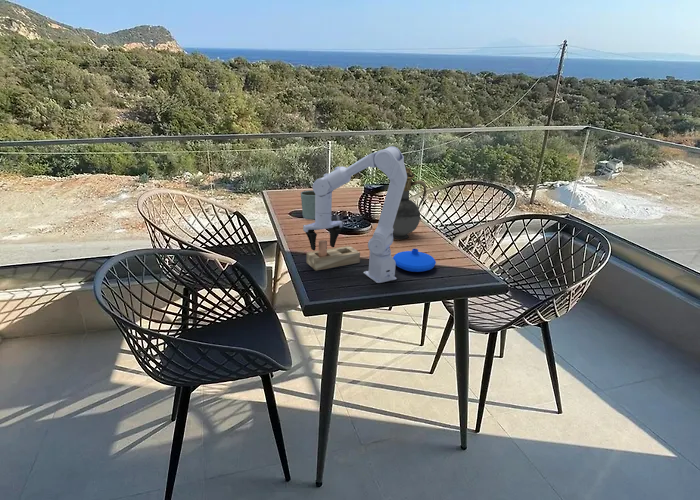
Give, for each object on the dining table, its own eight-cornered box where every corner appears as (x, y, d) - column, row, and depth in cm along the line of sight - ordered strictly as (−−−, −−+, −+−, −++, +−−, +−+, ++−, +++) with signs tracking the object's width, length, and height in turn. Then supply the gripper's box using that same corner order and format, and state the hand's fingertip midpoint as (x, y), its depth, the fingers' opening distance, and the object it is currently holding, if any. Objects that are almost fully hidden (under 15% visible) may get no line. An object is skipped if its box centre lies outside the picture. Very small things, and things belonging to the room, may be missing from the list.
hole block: (359, 262, 168) (360, 252, 166) (315, 270, 159) (316, 260, 158) (349, 255, 174) (349, 245, 173) (306, 262, 166) (306, 252, 164)
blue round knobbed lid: (401, 278, 157) (403, 259, 154) (385, 261, 171) (387, 243, 168) (442, 274, 161) (445, 256, 158) (423, 258, 175) (425, 241, 173)
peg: (327, 265, 164) (328, 242, 161) (320, 266, 163) (320, 243, 159) (324, 262, 167) (324, 239, 163) (316, 263, 165) (317, 240, 162)
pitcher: (378, 234, 199) (382, 166, 188) (415, 230, 206) (422, 165, 195) (389, 242, 190) (394, 171, 179) (428, 238, 197) (435, 169, 186)
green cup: (320, 220, 215) (320, 195, 211) (299, 219, 215) (299, 194, 211) (322, 214, 225) (322, 190, 220) (301, 213, 225) (301, 189, 220)
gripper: (336, 206, 164) (335, 241, 169) (299, 210, 157) (299, 247, 162) (345, 211, 158) (344, 247, 163) (308, 216, 152) (308, 253, 156)
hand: (322, 248), depth 162 cm, fingers open, 7 cm apart
